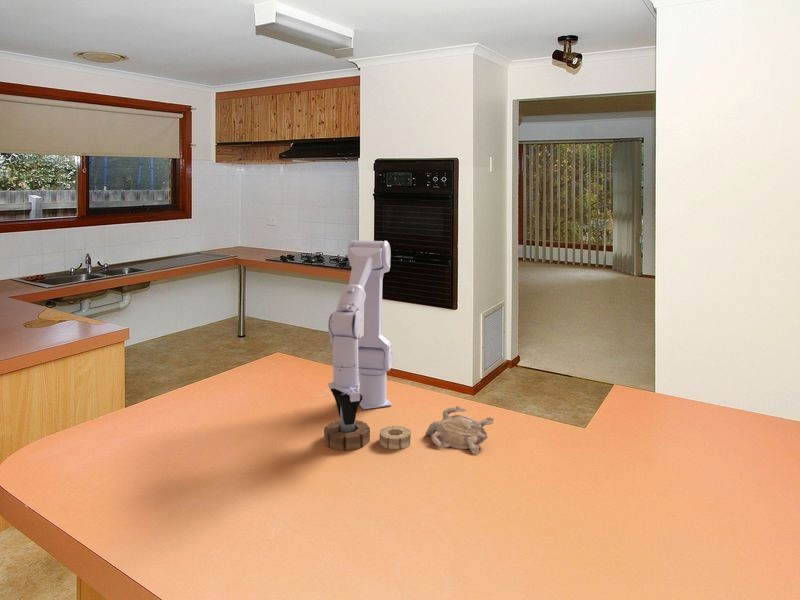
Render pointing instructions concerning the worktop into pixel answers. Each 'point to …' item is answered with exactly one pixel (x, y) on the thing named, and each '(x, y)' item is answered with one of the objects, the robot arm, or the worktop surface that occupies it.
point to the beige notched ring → (395, 437)
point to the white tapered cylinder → (344, 427)
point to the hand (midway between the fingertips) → (346, 420)
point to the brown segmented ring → (346, 436)
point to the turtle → (458, 430)
